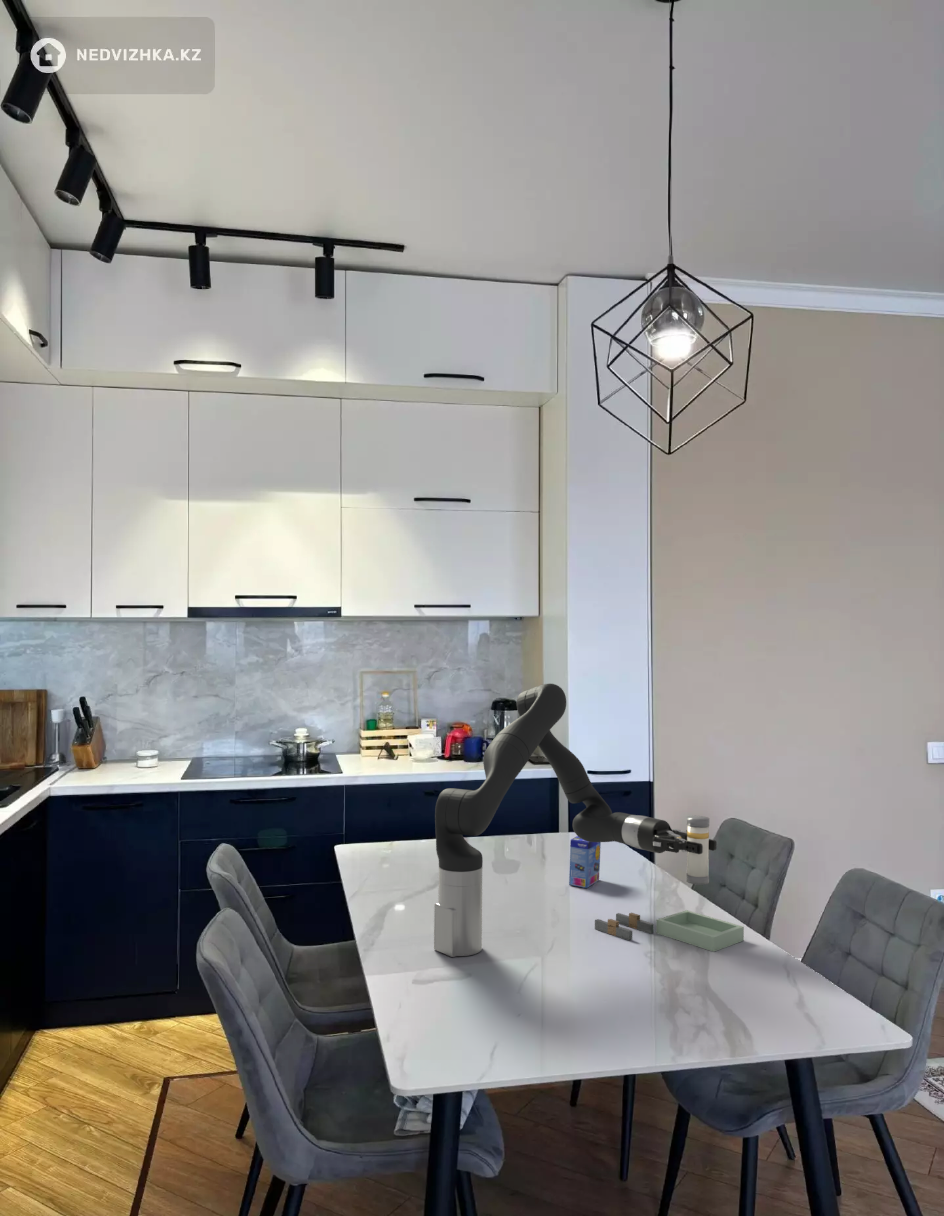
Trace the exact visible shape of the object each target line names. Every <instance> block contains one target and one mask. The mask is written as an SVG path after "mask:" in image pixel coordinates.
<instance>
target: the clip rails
mask: <svg viewBox="0 0 944 1216" xmlns="http://www.w3.org/2000/svg"><path fill="white" fill-rule="evenodd" d="M620 925H622V926H620ZM623 926H626V927H629V928H631V929H628V928H625V927H623ZM594 929H595V930H597V931H600V932H602V933H606V934H609V935H612V936H615V937H617V938H621V939H623V940H627V941H633V930H632V929H635V930H638V931H641V932H644V933H647V934H649V935H651V934H654V923H653V922H649V921H645V920H642V919H641V914H637V913H634V912H629V913H628V915H626V914H625V913H624V914H623V913H620V912H617V913H615V919H614V918H613V919H612V918H609V919H607V921H604V920H602V919H599V918H598V919H597V918H596V919H594Z"/></svg>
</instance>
